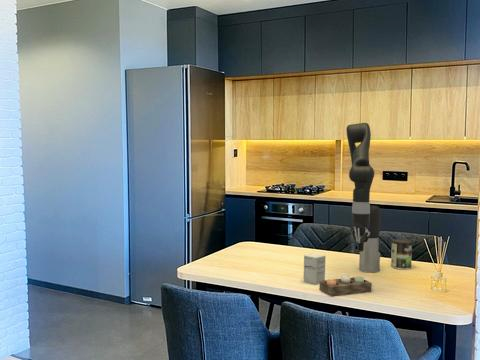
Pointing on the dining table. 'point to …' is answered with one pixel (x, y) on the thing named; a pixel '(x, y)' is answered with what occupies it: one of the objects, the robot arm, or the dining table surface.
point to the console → (345, 287)
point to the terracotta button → (331, 282)
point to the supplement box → (314, 268)
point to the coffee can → (401, 254)
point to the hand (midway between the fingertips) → (360, 250)
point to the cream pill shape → (345, 279)
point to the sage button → (359, 279)
